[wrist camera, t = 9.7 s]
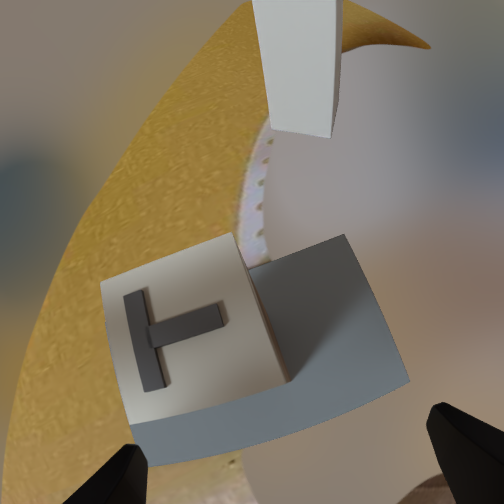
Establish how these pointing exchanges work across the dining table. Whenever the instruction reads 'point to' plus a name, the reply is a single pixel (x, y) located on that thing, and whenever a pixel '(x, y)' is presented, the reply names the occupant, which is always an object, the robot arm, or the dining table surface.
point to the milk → (301, 62)
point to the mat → (295, 359)
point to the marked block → (190, 333)
